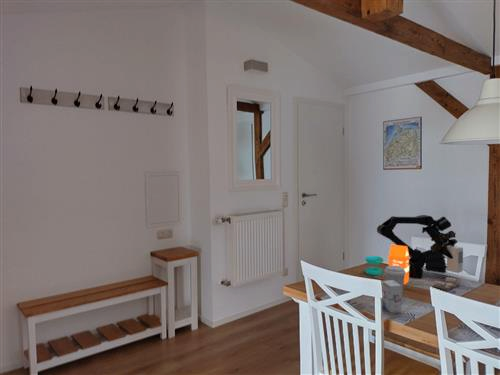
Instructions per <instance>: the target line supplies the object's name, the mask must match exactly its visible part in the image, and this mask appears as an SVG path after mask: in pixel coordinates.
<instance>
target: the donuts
mask: <svg viewBox="0 0 500 375" xmlns="http://www.w3.org/2000/svg"><path fill="white" fill-rule="evenodd" d="M364 259H365V262H366V263H367V264H370V265H381V264H382V263H384V258H382V257H381V256H379V255H378V256H377V255H369V256H366V257H365V258H364ZM364 271H365V274H367V275H368V276H376V277H377V276H382V275H383V274H384V270H383V269H382V268H380V267H378V266H377V267H376V266H369V267H367V268H365V270H364Z"/></svg>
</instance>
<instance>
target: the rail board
mask: <svg viewBox="0 0 500 375" xmlns="http://www.w3.org/2000/svg"><path fill="white" fill-rule="evenodd" d="M458 282H459V280H458V279H457V278H453V277H450V276H447V277H445V281H440V280H434V281H433V285H431V288H432V287H434V288H437V289H440V290H439V291H441V290H443V291H442V292H445V291H446V292H448V291H451V290H454V289H456V288H460V284H459V283H458ZM437 289H436V290H437Z"/></svg>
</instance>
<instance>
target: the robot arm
mask: <svg viewBox="0 0 500 375" xmlns="http://www.w3.org/2000/svg"><path fill="white" fill-rule="evenodd" d="M398 224H399V225H400V224H408V225H409V224H410V225H412V224H413V225H414V224H415V225H420V226H421V225H422V232H421V233H422V234H425V233H427V234H428V236H429V237H430V238H431V239H430V241H431V242H434V243H433V244H432V245H431V246H430V250H432V251H433V252H434V251H436V249H437V248H438V251H437V252H439V253H441V254H443V255H444V256H445V257H446V258H447V257H449V258H451V259H452V258H453V257H452V255H451V254H450V252H449V251H448V249H447V247H448V246H456V244H457V243H458V241H457V239H456V234H457V233H456V232H455V231H454V230H448V232H446V233H444V231H446V230H447V229H449V228H451V227H452V223H451V221H449V220H448V219H447V218H446V216H441V217H440V218H439V219H437V220H436V219H434V217H433V216H431V215H427V214H422V215H421V214H420V215H416V216H395V215H392V216H390V217H389V218H388V219H387V220H385V221H383V223H382V224H379V225H378V226H377V227H376V232H377V233H378V235H381V236H382V237H384V238H386V239H388V240H390V241H391V242H392V243H393V244H394V245H400V246H407V248H408V253H409V278H412V279H413V278H414V279H421V280H422V279H423V278H422V277H424V276H423V275H424V269H423V268H425V265H426V261H427V258H426V257H425V256H424V255H425V254H423V253H422V252H423V251H421V250H420V249H417V248H414V249H413V248H412V247H411V246H410V245H408V244H407V243H406V242H404V241H403V240H402V239H401V238H400V237H398V236H397V235H396V234H395V232H394V231H393V230H394V229H395V227H396V226H397V225H398ZM424 226H425V227H424Z"/></svg>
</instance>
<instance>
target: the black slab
mask: <svg viewBox="0 0 500 375" xmlns="http://www.w3.org/2000/svg"><path fill="white" fill-rule="evenodd" d="M437 251H438V248H437V249H436V251H434V252H433V251H432V250H431V249H428V250H424V251H421V252H422V253H423V254H425V255H424V256H425V257H426V258H427V261H426V263H425V265H424V268H425V271H429V272H430V271H431V272H435V273H441V274H442V273H443V274H446V273H447V263H446V256H445V255H443V254H441V253H439V252H437Z"/></svg>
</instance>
